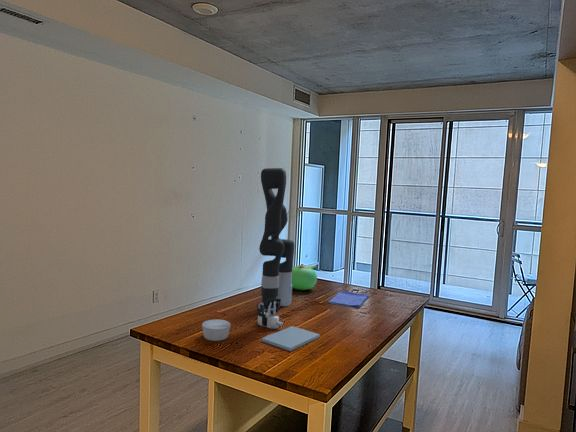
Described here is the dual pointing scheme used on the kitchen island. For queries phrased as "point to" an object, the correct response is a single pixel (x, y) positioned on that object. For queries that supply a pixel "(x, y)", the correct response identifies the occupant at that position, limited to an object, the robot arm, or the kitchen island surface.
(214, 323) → the ramekin
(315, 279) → the green apple
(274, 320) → the rounded plug
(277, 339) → the cutting board
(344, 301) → the dish towel
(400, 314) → the kitchen island surface
